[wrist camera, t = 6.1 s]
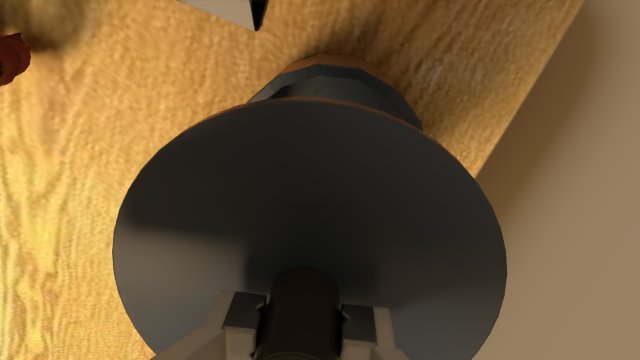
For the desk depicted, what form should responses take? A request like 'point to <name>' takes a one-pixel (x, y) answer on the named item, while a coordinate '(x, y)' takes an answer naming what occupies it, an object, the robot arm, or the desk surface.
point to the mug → (13, 57)
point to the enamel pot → (340, 84)
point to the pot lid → (311, 231)
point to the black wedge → (234, 10)
